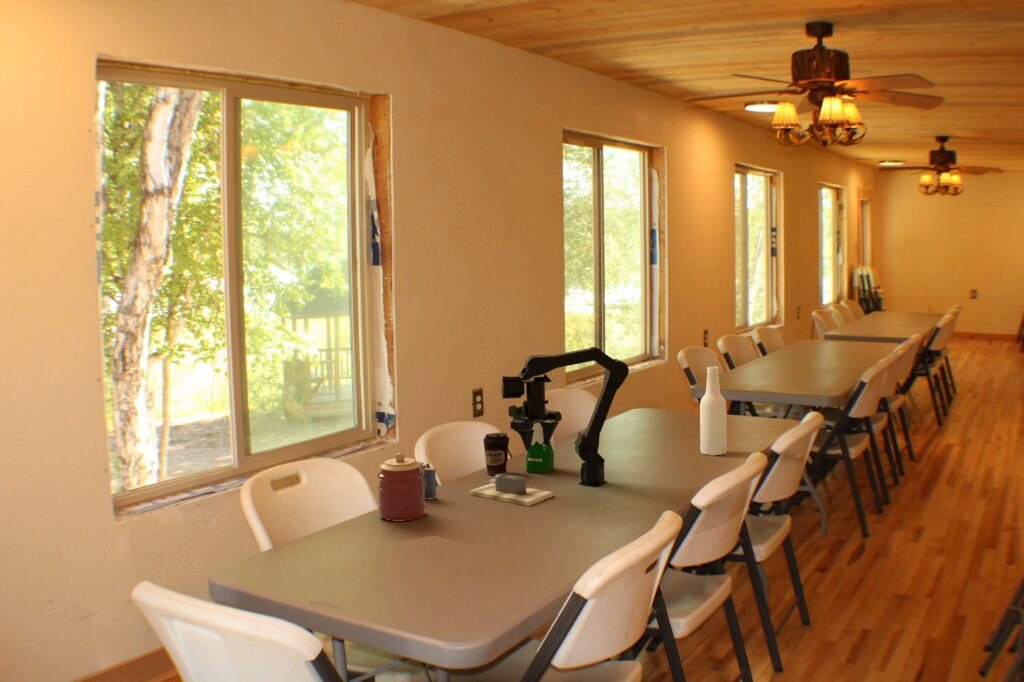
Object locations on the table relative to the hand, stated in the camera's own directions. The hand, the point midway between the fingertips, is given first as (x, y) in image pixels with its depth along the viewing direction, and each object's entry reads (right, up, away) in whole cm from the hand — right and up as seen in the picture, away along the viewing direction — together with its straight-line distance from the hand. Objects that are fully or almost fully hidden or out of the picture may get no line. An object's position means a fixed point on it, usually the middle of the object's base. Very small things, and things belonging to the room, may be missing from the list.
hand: (537, 448), depth 283 cm
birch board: (-8, -13, -7) cm, 17 cm away
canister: (-38, -16, -24) cm, 48 cm away
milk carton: (+2, -10, +22) cm, 24 cm away
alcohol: (+62, -6, +38) cm, 73 cm away
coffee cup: (-12, -11, +19) cm, 25 cm away
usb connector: (-8, -12, -8) cm, 16 cm away
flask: (-34, -14, -7) cm, 38 cm away
